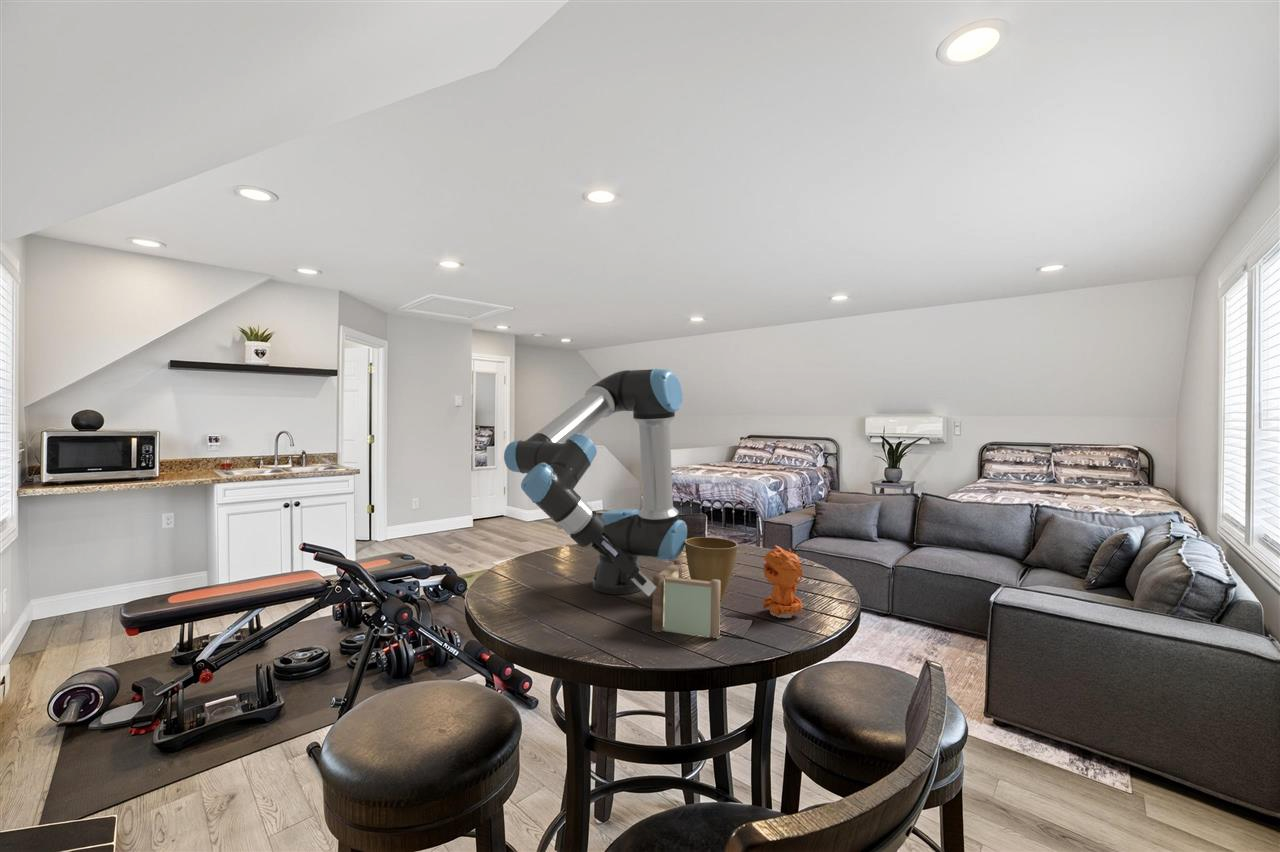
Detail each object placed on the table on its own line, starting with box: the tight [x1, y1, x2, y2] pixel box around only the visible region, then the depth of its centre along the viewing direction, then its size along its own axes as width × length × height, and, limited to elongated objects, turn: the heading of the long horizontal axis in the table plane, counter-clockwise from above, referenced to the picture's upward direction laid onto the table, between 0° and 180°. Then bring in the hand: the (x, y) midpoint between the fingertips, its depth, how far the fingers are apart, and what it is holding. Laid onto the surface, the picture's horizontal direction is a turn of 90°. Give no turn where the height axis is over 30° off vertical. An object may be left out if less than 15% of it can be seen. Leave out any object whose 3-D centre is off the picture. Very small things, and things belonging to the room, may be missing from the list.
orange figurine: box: [762, 544, 804, 616], centre depth 142 cm, size 11×11×18 cm
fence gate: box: [663, 577, 721, 638], centre depth 127 cm, size 13×2×13 cm, turn 72°
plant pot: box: [684, 536, 739, 600], centre depth 154 cm, size 15×15×16 cm
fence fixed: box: [651, 559, 683, 633], centre depth 136 cm, size 16×3×14 cm, turn 156°
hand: (651, 590), depth 123 cm, fingers closed
